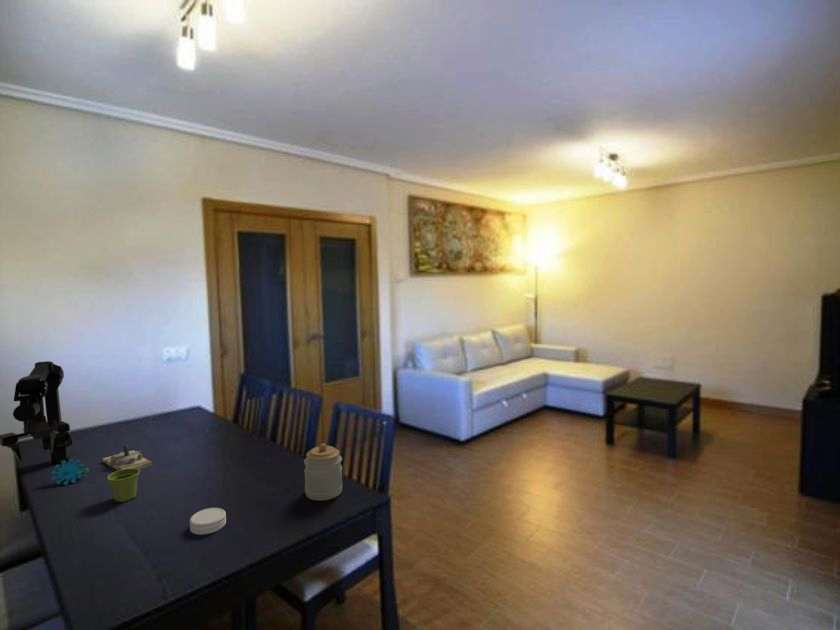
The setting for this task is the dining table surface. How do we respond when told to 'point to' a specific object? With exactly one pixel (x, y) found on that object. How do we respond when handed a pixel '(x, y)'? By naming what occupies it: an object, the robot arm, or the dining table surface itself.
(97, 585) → the dining table surface
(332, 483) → the jar
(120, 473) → the plant pot
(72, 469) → the gear
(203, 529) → the white round flat block
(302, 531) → the dining table surface
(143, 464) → the gear board
